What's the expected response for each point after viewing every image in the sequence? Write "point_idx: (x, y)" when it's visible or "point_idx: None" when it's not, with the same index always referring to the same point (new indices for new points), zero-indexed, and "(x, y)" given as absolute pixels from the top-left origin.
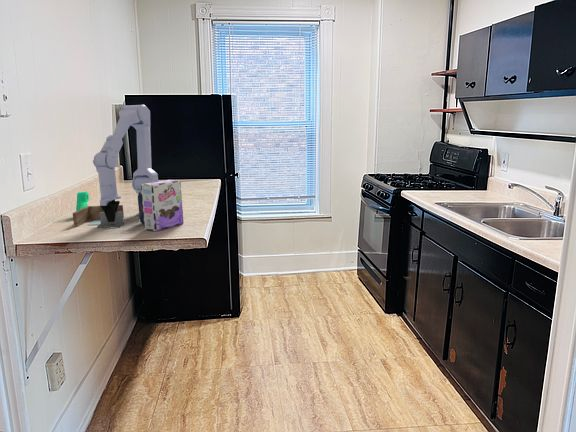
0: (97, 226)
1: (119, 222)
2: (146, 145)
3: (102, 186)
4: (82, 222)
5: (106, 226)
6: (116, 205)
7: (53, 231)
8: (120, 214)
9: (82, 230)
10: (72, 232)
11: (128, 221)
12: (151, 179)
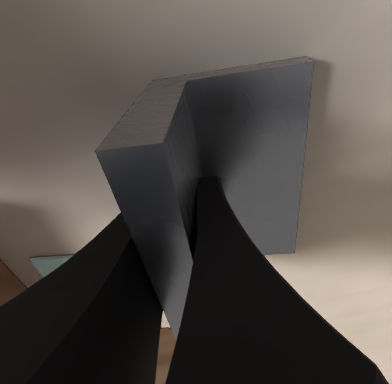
0: (294, 248)
1: (190, 120)
2: None
3: None
4: (164, 336)
5: (296, 192)
6: (76, 346)
7: None
8: (174, 143)
9: (338, 288)
10: (376, 311)
11: (12, 91)
12: None
